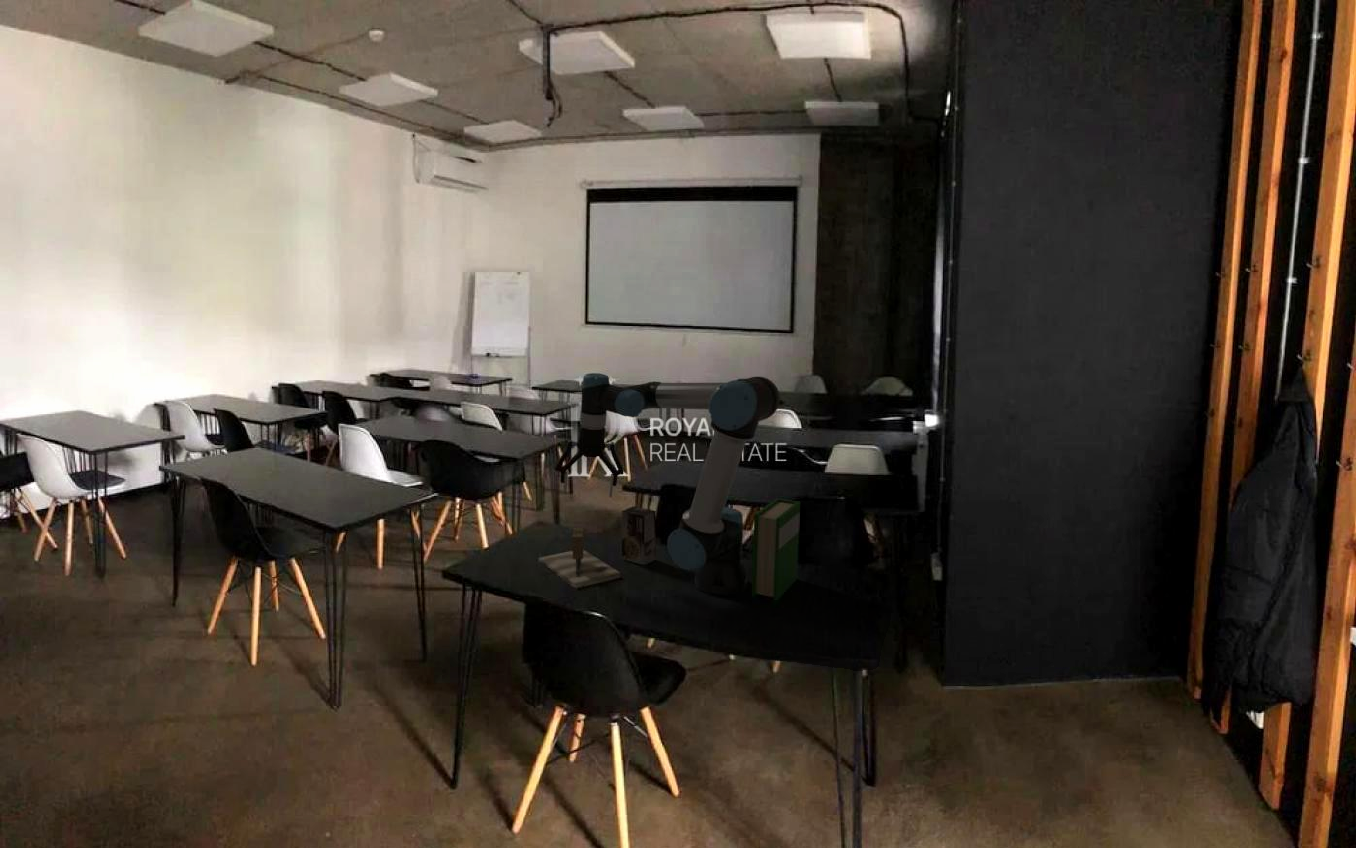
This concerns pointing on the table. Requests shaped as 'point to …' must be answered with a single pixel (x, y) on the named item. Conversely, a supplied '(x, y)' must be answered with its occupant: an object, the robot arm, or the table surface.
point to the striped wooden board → (588, 573)
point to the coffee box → (638, 535)
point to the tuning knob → (578, 547)
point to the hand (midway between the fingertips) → (587, 494)
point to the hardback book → (775, 548)
